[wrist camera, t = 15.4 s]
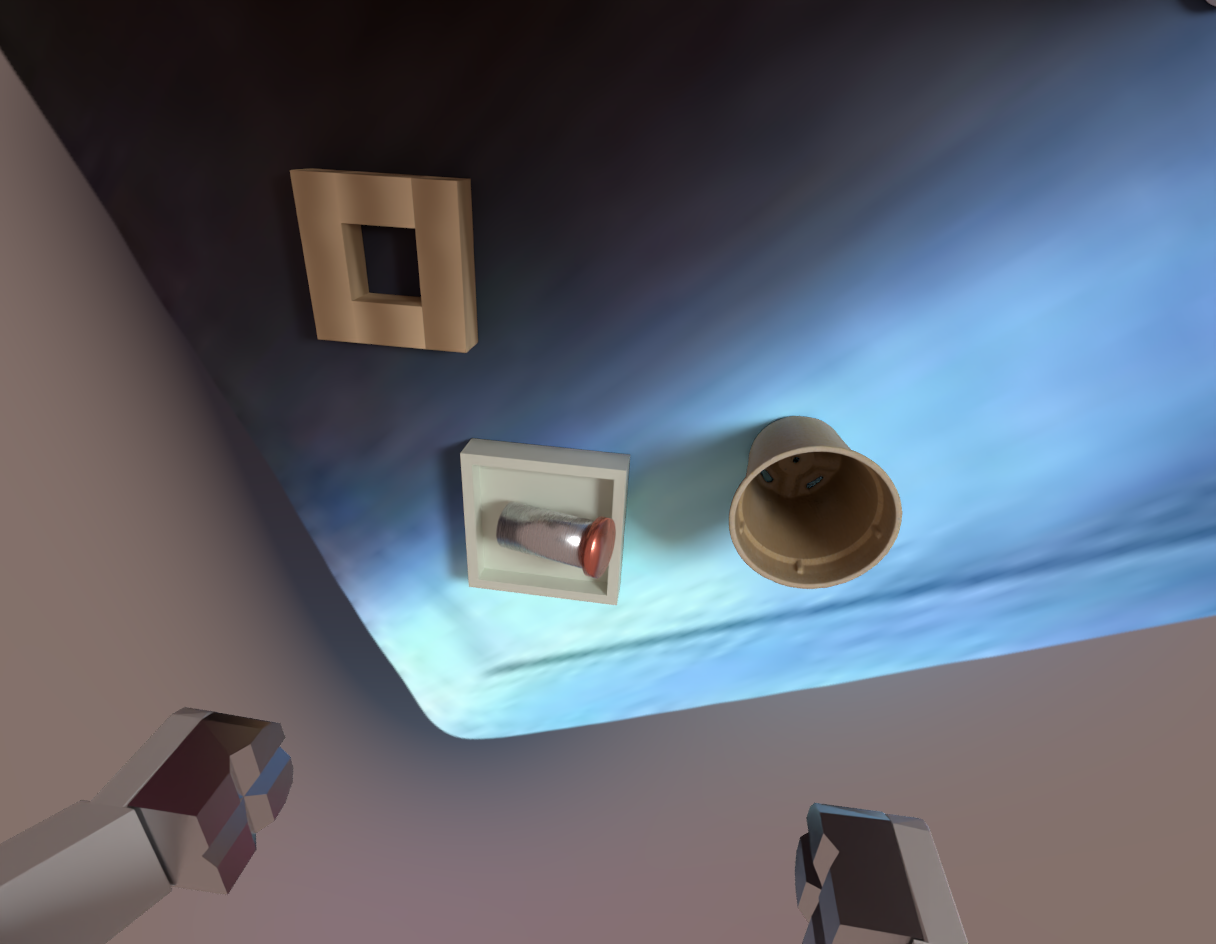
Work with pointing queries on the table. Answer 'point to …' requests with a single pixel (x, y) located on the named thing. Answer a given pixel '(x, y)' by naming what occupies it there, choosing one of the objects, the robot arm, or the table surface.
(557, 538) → the pin
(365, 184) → the block
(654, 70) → the table surface
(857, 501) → the flower pot
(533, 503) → the tray
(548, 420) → the table surface
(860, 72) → the table surface
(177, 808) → the robot arm
